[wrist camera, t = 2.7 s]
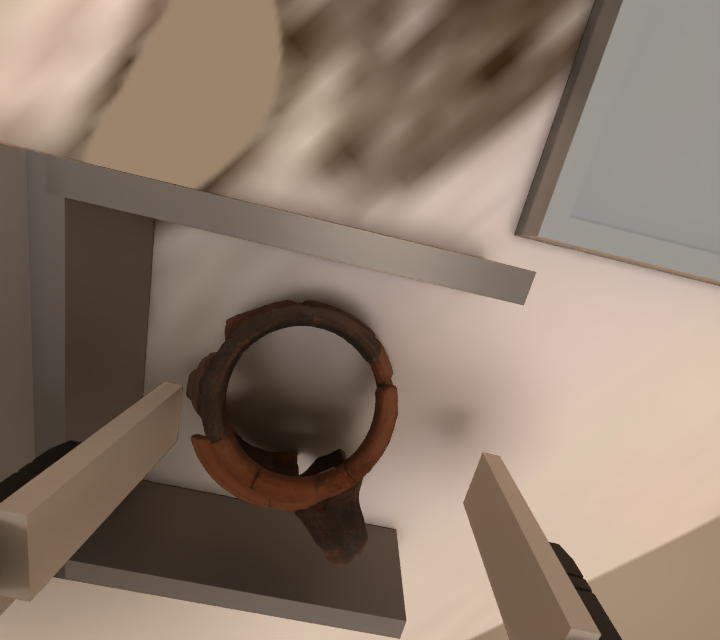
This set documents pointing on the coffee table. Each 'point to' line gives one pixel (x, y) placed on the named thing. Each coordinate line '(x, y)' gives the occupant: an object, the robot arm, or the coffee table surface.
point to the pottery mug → (280, 469)
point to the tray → (637, 141)
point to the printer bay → (126, 381)
